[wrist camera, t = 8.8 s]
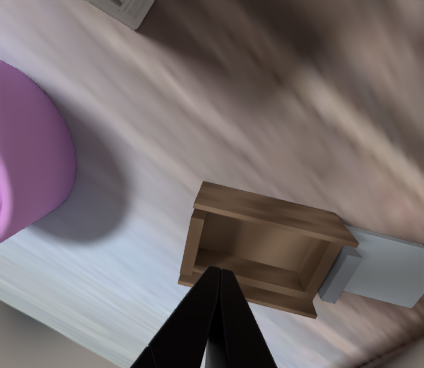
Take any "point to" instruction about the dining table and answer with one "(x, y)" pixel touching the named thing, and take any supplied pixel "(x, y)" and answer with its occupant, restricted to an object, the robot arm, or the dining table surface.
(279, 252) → the case
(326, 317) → the dining table surface
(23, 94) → the container set
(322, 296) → the lid
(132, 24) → the ink box
